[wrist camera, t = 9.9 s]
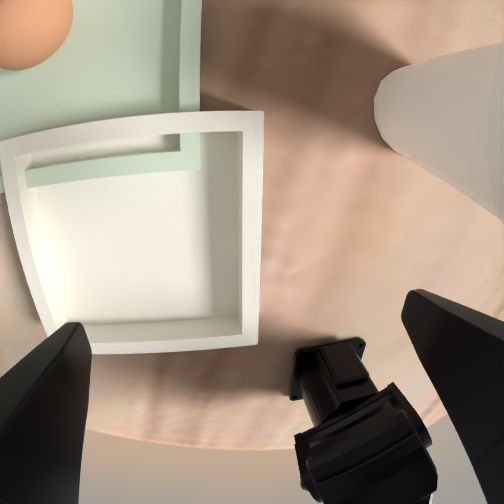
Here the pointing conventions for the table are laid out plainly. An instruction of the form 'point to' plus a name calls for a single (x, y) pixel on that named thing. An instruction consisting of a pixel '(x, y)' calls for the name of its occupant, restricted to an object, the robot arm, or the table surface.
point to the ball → (32, 31)
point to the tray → (111, 84)
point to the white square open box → (144, 233)
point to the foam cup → (450, 120)
